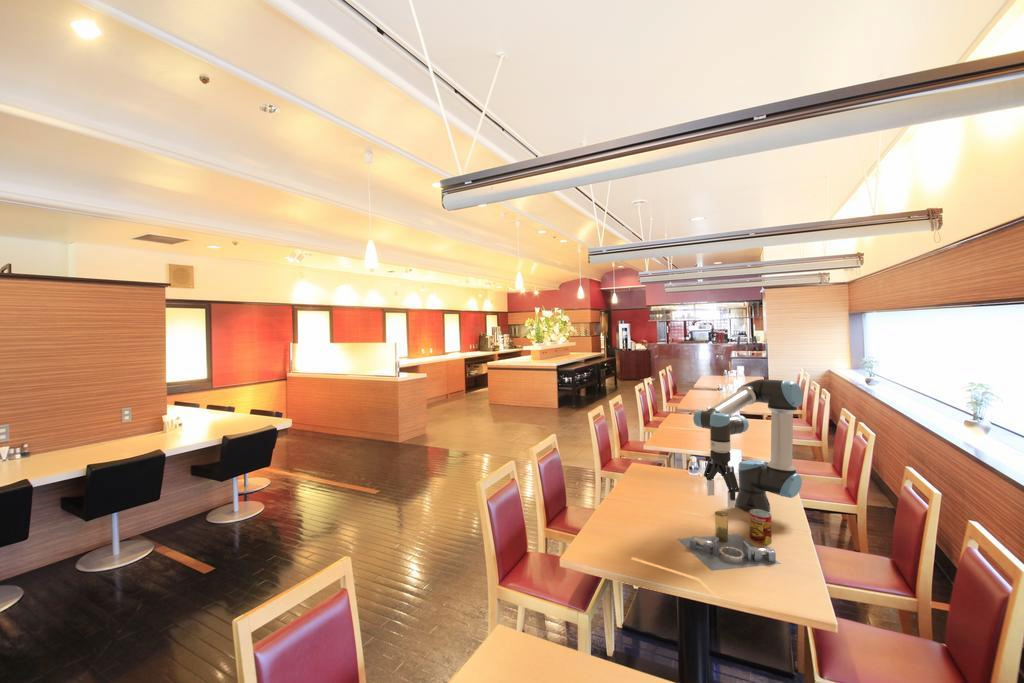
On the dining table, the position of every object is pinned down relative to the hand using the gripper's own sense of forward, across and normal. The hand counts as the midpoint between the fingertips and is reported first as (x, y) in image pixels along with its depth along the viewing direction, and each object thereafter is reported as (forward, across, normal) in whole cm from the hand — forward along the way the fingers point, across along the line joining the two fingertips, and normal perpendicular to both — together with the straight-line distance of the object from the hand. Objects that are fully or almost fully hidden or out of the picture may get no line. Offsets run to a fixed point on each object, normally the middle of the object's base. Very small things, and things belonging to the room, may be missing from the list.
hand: (720, 501), depth 174 cm
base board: (+17, +8, -4) cm, 19 cm away
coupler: (+16, 0, 0) cm, 16 cm away
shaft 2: (+16, +16, +5) cm, 23 cm away
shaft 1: (+16, +6, -12) cm, 21 cm away
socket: (+16, +13, -5) cm, 22 cm away
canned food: (+17, +2, +16) cm, 24 cm away
